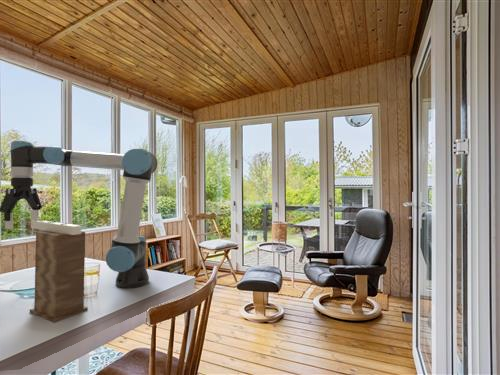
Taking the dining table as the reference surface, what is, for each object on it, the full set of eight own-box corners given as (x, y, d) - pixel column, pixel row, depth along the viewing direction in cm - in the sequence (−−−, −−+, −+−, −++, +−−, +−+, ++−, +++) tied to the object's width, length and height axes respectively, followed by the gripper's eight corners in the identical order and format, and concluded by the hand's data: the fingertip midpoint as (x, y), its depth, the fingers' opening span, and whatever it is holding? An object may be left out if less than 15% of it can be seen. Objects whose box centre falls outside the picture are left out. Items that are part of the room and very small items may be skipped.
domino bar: (30, 228, 117) (31, 220, 117) (39, 227, 120) (39, 219, 120) (72, 234, 104) (73, 226, 104) (81, 233, 107) (81, 225, 107)
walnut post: (29, 312, 108) (31, 231, 108) (63, 301, 119) (64, 228, 119) (54, 322, 101) (56, 236, 101) (87, 310, 112) (89, 231, 111)
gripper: (35, 178, 138) (35, 222, 138) (-13, 176, 113) (-13, 231, 113) (50, 178, 138) (51, 222, 138) (6, 176, 113) (6, 231, 113)
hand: (22, 226), depth 126 cm, fingers open, 13 cm apart
